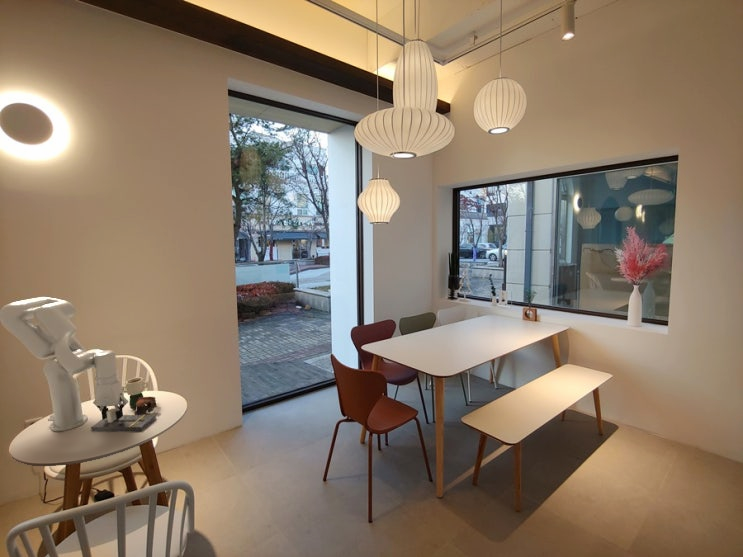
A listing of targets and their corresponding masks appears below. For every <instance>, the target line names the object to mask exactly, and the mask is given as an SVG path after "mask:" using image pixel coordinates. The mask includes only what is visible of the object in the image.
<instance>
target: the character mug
mask: <svg viewBox="0 0 743 557" xmlns="http://www.w3.org/2000/svg"><path fill="white" fill-rule="evenodd" d="M144 384H145V385H144ZM122 388H123V393H126V394H127V395H128V396H129V400H128V403H129V407H131V408H136V404H135V403H136V402H137V401H138V398H141V397H144V394H143V392H144V391H145V389H148V388H149V382H148V381H144V378H143V377H133V378H130V379H128V380H126V381H125V385H122ZM125 388H126V389H125Z"/></svg>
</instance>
